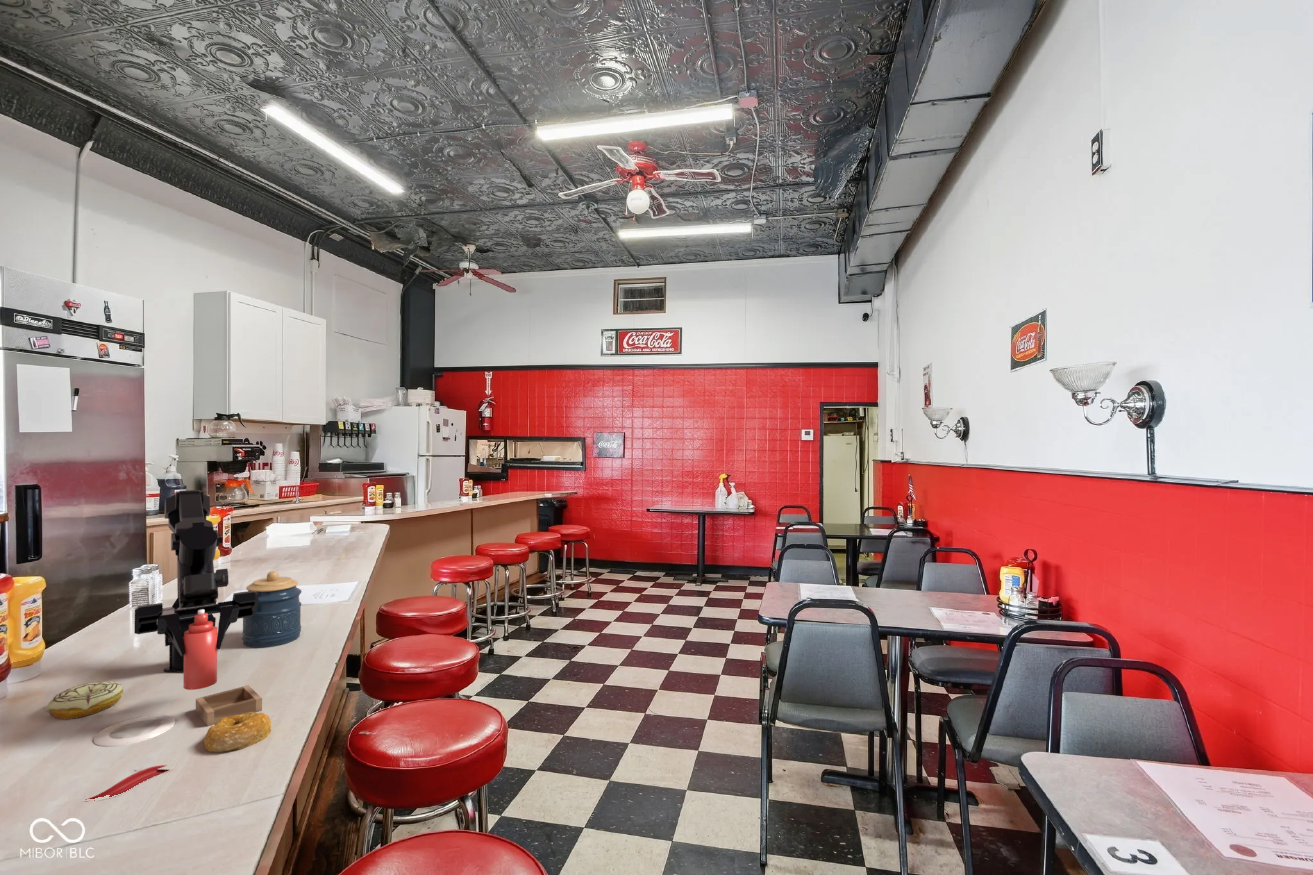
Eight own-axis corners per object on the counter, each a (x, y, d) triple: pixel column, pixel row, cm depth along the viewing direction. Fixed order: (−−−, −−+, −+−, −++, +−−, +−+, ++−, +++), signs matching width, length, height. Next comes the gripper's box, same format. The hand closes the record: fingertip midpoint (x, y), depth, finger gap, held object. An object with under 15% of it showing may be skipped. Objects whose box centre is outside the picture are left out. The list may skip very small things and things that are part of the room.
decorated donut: (30, 722, 113) (30, 702, 113) (81, 697, 123) (81, 678, 123) (90, 721, 113) (90, 700, 113) (135, 696, 124) (135, 677, 124)
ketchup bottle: (176, 688, 111) (176, 613, 111) (200, 677, 116) (201, 605, 116) (200, 690, 111) (201, 614, 110) (223, 679, 116) (224, 607, 115)
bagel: (277, 722, 114) (277, 697, 114) (265, 752, 104) (264, 724, 104) (213, 732, 110) (213, 706, 110) (194, 764, 100) (193, 735, 100)
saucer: (75, 748, 103) (75, 744, 103) (131, 718, 114) (131, 714, 114) (139, 750, 103) (139, 745, 103) (190, 719, 114) (190, 715, 114)
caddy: (195, 714, 116) (195, 698, 116) (248, 699, 123) (248, 685, 123) (207, 729, 111) (207, 712, 110) (261, 713, 117) (262, 697, 117)
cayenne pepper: (80, 811, 87) (80, 797, 87) (76, 798, 90) (76, 785, 90) (184, 776, 96) (184, 764, 96) (177, 765, 99) (178, 754, 99)
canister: (306, 629, 166) (306, 564, 166) (294, 645, 154) (295, 575, 153) (250, 633, 162) (251, 567, 162) (234, 650, 150) (234, 578, 149)
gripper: (135, 562, 110) (134, 639, 102) (257, 550, 122) (266, 618, 114) (134, 596, 116) (134, 672, 108) (251, 581, 128) (259, 648, 120)
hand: (201, 651), depth 112 cm, fingers closed on ketchup bottle, 5 cm apart
